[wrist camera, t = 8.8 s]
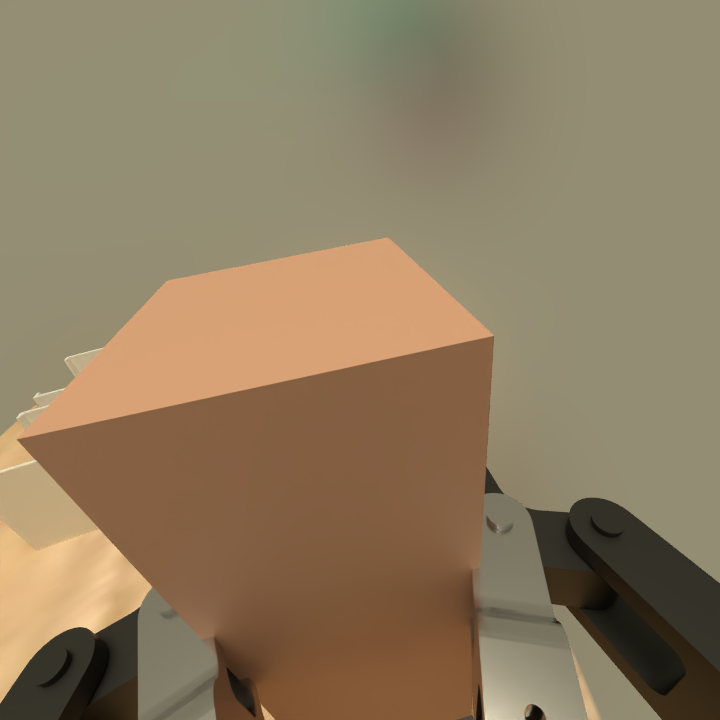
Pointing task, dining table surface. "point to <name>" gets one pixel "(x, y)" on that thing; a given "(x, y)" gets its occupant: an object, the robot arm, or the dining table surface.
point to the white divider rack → (42, 487)
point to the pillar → (297, 474)
